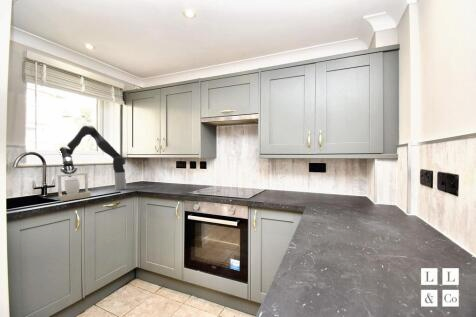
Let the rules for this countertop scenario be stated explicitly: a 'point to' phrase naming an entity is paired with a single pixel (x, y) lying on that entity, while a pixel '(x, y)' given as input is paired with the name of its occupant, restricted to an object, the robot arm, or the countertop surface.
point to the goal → (73, 196)
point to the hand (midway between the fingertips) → (70, 176)
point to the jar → (72, 185)
